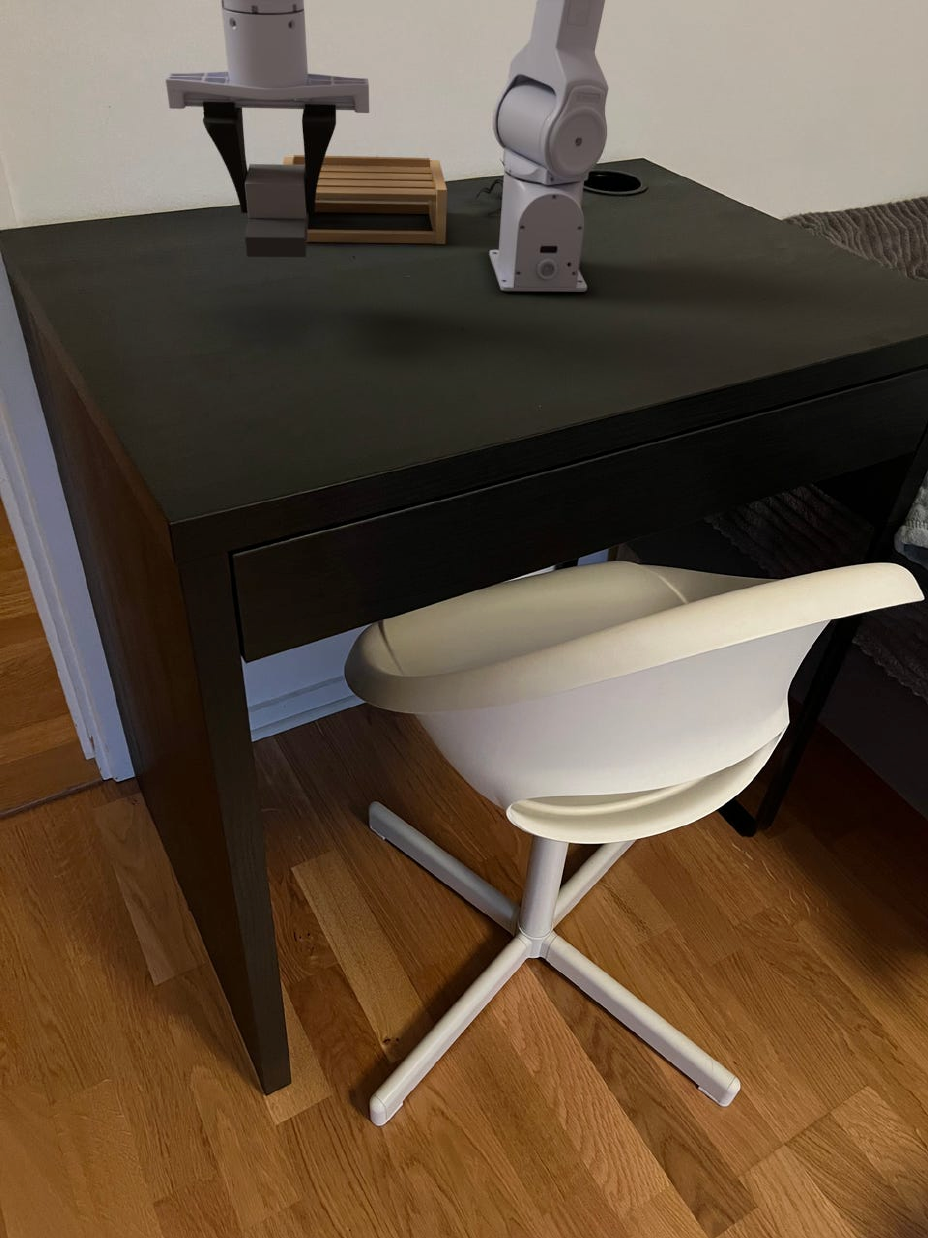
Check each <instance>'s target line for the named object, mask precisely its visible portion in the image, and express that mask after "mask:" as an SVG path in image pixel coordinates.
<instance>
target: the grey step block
mask: <svg viewBox="0 0 928 1238" xmlns="http://www.w3.org/2000/svg"><path fill="white" fill-rule="evenodd" d="M247 170H248V173H247V177H246V181H245V190H246V200H247V210H248V213H247V217H248V219H247V224H246V231H245V235H244V243H245V252H246V253H245V254H246V257H248V258H249V257H250V258H251V257H252V258H305V257H307V247H308V246H307V245H308V242H307V232H308V229H309V214H306V201H305V184H306V169H305V165H283V164H278V163H277V164H275V163H274V164H273V163H272V164H270V163H266V164H265V163H249V165H248V167H247Z"/></svg>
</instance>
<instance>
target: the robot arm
mask: <svg viewBox="0 0 928 1238" xmlns="http://www.w3.org/2000/svg"><path fill="white" fill-rule="evenodd" d="M535 2H536V3H535V9H534V13H533V20H532V24H531V25H532V26H531V32H530V38H529V40H528V41H527V43H526V44H525V45H524V46H523V47H522V48H521V49H520V50H519V51H518V52H517V54H515V56H514V57H513V58H512V59H511V61H510V65H509V70H508V75H507V79H506V82H505V85H504V87H503V88H502V90H501V92H500V94H499V95H498V97H497V100H496V101H495V104H494V109H493V110H492V111H493V113H492V123H491V124H492V131H493V134H494V137H495V140H496V142H497V143H498V145H499V146H500V147H501V148H502V149H503V157H502V162H503V163H504V164H505V167H504V166H503V168H504V170H503V182H502V185H503V188H502V192H503V193H502V196H501V198H502V199H501V207H502V210H500V211H501V213H500V224H499V225H500V227H499V240H498V241H499V242H498V249H490V250H489V253H488V255H489V259H490V262H491V265H492V268H493V271H494V274H495V278H496V280H497V282H498V283H497V284H498V286H499V289H500V290H501V291H503V292H534V293H535V292H537V293H539V292H543V293H544V292H545V293H546V292H547V293H548V292H557V293H566V292H567V293H584V292H586V291H587V290H588V285H587V283H586V281H585V279H584V278H583V275H582V273H581V271H580V263H581V255H582V247H583V240H584V232H585V217H584V213H583V210H582V202H583V201H582V200H583V192H584V185H585V181H588V179H589V173H590V172H591V171H592V170H593V169H594V168H595V166H597V165H598V162H599V161H600V159H601V157H602V155H603V153H604V151H605V148H606V144H607V139H608V123H607V116H606V104H607V98H608V94H609V84H608V81H607V79H606V77H605V75H604V73H603V70H602V68H601V65H600V64H599V61H598V59H597V56H596V47H597V43H598V38H599V33H600V28H601V24H602V19H603V18H602V17H603V14H604V9H605V4H606V0H536V1H535ZM220 7H221V15H222V16H221V17H222V25H223V34H224V36H223V37H224V43H225V45H224V46H225V53H226V62H227V63H226V64H227V71H210V72H209V71H208V72H186V73H185V72H182V73H181V72H179V73H178V72H174V73H173V72H170V73H168V75H167V76H166V78H165V85H166V92H167V99H168V107H169V109H170V110H171V109H172V110H173V109H174V110H175V109H176V110H179V109H180V110H182V109H185V108H186V107H191V108H192V107H193V108H194V107H195V108H196V107H197V108H199V107H200V108H202V109H203V112H202V113H203V118H202V123H203V126H204V128H205V131H206V132H207V134H208V136H209V138H210V139H211V140H212V142H213V144H214V146H215V148H216V149H217V152H218V153H219V155H220V157H221V158H222V161H223V163H224V165H225V167H226V169H227V172H228V174H229V177H230V178H231V179H230V180H231V182H232V184H233V187H234V190H235V192H236V195H237V199H238V203H239V207H240V213H242V214H248V210H247V200H246V190H245V181H246V177H247V173H248V165H247V158H246V145H245V133H244V131H245V130H244V117H243V116H244V115H243V109H274V110H275V109H276V110H278V109H282V110H284V109H285V110H302V117H301V127H302V139H303V141H302V142H303V150H304V151H303V153H304V154H303V155H305V169H306V184H305V201H306V214H308V215H314V214H316V212H315V200H316V199H315V198H316V191H317V184H318V180H319V175H320V171H321V167H322V164H323V160H324V157H325V156H326V153H327V151H328V148H329V144H330V143H331V141H332V138H333V134H334V132H335V129H336V125H337V111H354V113H357V114H370V83H369V79H368V78H366V77H365V78H364V77H363V78H362V77H349V76H336V75H328V74H327V75H326V74H319V73H309V70H308V69H309V68H308V66H309V65H308V50H307V32H306V31H307V30H306V16H305V15H306V13H305V1H304V0H220Z"/></svg>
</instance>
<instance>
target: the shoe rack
mask: <svg viewBox="0 0 928 1238" xmlns="http://www.w3.org/2000/svg"><path fill="white" fill-rule="evenodd" d="M282 165H305V155H304V154H294V155H293V156H284V157H283V163H282ZM318 199H321V200H318ZM323 199H324V200H323ZM365 200H366V201H365ZM367 200H368V201H367ZM373 200H374V201H373ZM376 200H378V201H376ZM380 200H381V201H380ZM421 201H422V202H421ZM423 201H424V202H423ZM426 201H427V202H426ZM447 207H448V187H447V184H446V181H445V177H444V173H443V169H442V167H441V163H440V160H438V159H430V157H403V156H402V157H401V156H400V157H399V156H361V155H360V156H358V155H354V156H353V155H325V157H324V160H323V164H322V167H321V171H320V175H319V180H318V184H317V191H316V198H315V213H336V214H337V213H338V214H339V213H340V214H344V213H345V214H400V215H402V214H403V215H429V221H430V225H431V229H432V230H380V229H379V230H377V229H374V230H372V229H370V230H369V229H363V230H362V229H309V228H308V232H307V243H356V244H357V243H359V244H360V243H363V244H367V243H368V244H435V245H446V241H447V240H446V238H447V236H446V235H447V210H448V209H447Z"/></svg>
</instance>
